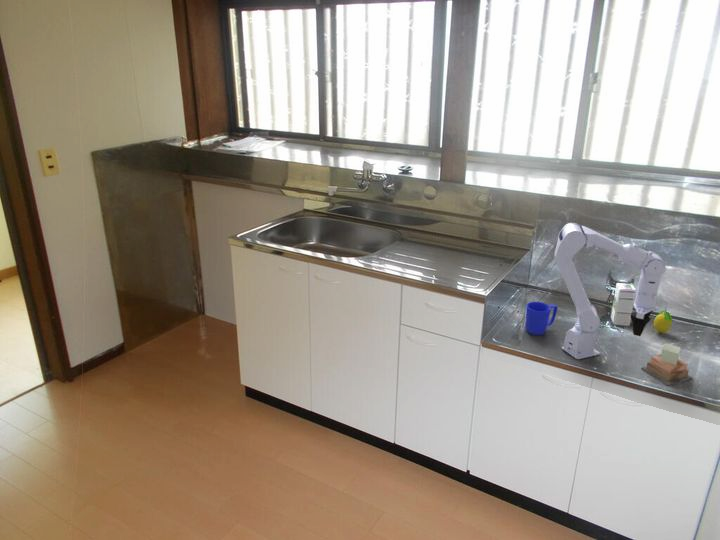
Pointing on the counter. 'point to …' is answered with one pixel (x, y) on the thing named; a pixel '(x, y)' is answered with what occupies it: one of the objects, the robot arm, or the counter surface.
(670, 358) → the sage brick
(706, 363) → the counter surface
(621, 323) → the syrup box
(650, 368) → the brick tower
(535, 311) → the mug
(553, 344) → the counter surface
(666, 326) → the lemon
